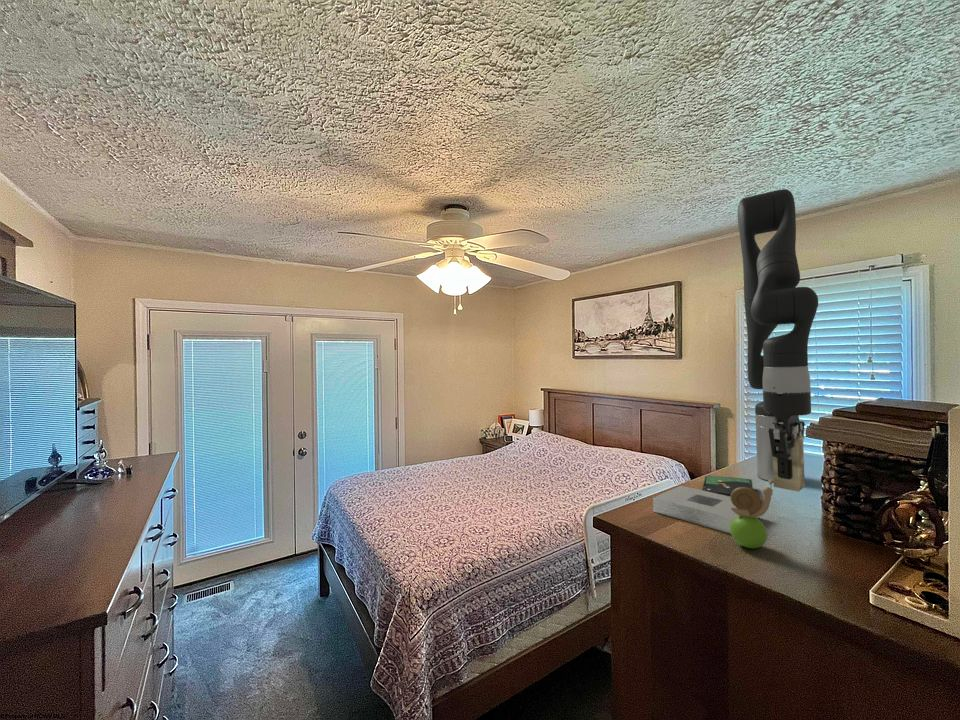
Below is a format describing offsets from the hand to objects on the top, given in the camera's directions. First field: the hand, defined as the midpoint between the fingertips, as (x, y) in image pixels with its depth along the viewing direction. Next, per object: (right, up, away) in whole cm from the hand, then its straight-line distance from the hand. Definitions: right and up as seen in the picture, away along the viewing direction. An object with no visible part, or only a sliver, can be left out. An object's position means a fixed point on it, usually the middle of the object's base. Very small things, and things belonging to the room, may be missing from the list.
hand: (788, 475), depth 79 cm
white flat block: (-13, -10, +6) cm, 18 cm away
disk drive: (-1, -10, +18) cm, 21 cm away
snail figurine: (-14, -10, -9) cm, 19 cm away
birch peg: (0, -2, 0) cm, 2 cm away
